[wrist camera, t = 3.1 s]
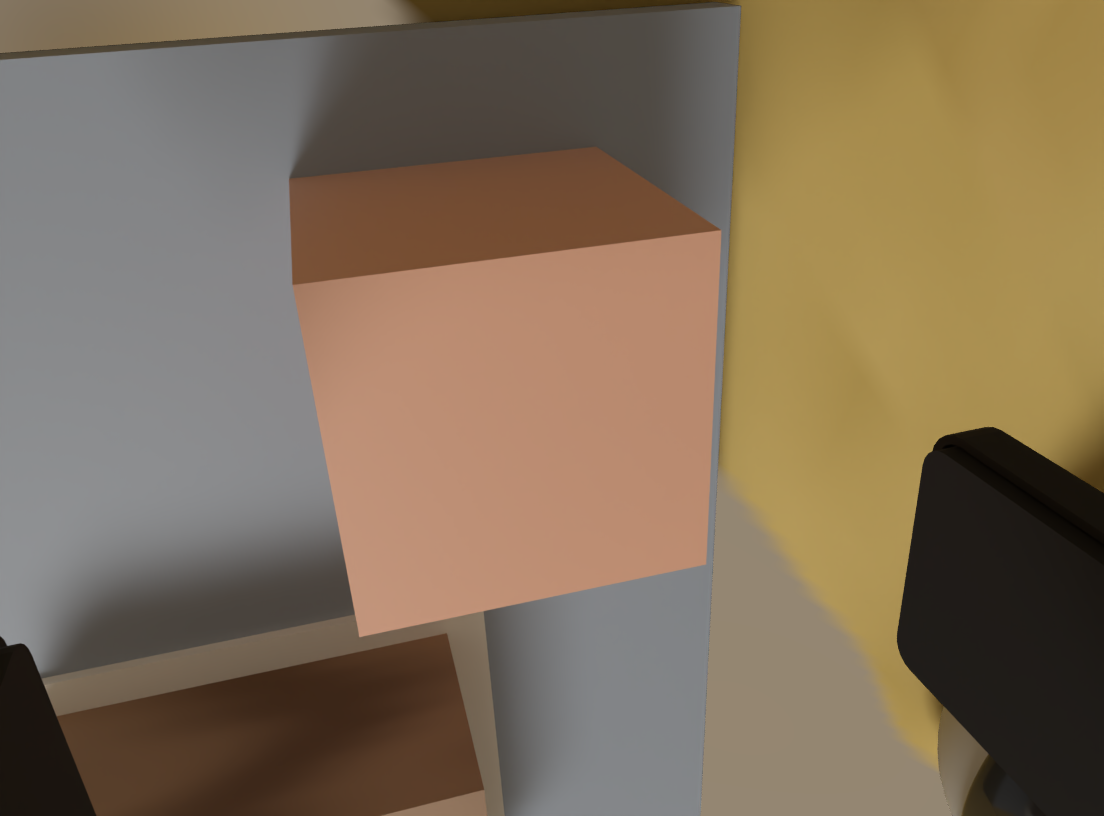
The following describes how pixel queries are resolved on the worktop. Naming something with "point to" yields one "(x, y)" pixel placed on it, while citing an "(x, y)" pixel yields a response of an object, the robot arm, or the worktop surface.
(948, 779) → the black penguin toy
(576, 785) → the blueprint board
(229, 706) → the base block
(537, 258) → the top cube
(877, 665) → the worktop surface
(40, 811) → the robot arm
